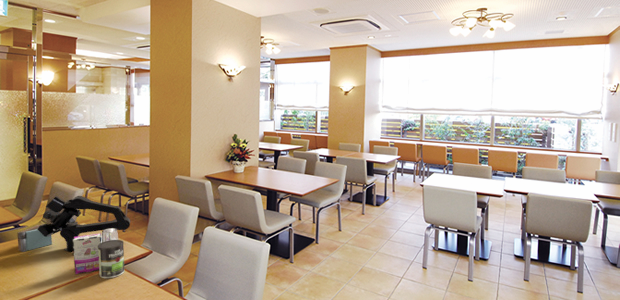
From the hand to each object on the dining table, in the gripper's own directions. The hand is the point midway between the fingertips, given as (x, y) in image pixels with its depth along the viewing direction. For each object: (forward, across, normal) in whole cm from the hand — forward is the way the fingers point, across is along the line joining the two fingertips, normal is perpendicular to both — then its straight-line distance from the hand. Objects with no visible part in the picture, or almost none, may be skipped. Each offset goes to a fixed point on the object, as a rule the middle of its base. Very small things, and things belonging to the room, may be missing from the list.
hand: (48, 235), depth 187 cm
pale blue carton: (+12, 0, -2) cm, 12 cm away
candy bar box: (-22, +19, +32) cm, 44 cm away
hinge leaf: (+9, +1, +1) cm, 9 cm away
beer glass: (-24, +7, +34) cm, 42 cm away
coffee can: (-31, +20, +41) cm, 55 cm away
